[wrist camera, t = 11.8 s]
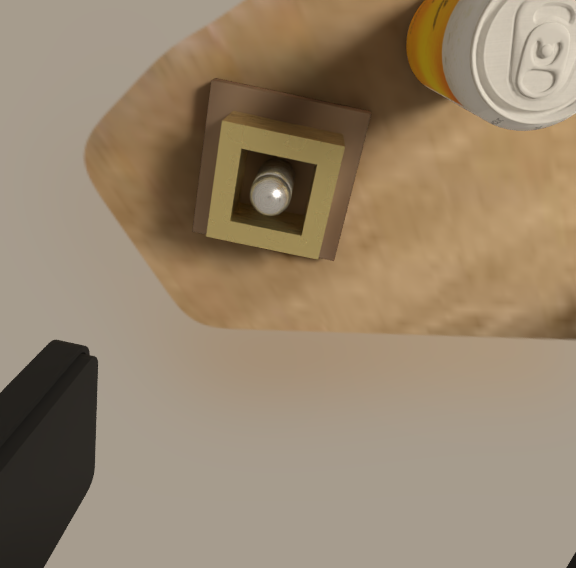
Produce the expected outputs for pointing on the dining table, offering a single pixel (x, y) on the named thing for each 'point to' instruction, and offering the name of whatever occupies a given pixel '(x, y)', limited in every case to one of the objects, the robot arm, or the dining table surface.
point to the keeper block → (278, 170)
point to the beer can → (499, 58)
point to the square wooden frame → (284, 143)
